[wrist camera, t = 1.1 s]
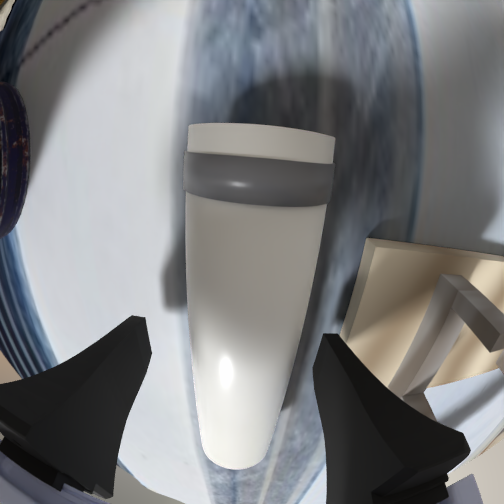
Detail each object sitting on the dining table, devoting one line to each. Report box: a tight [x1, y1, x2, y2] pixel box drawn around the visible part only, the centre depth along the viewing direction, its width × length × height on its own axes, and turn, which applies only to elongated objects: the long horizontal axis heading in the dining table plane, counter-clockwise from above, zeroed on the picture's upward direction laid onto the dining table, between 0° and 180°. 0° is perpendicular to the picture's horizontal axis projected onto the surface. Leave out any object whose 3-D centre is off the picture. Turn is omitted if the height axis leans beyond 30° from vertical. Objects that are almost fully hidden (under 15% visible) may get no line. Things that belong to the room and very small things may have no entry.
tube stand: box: [339, 238, 504, 422], centre depth 9 cm, size 20×9×6 cm, turn 85°
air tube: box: [183, 123, 335, 469], centre depth 10 cm, size 16×4×4 cm, turn 175°
